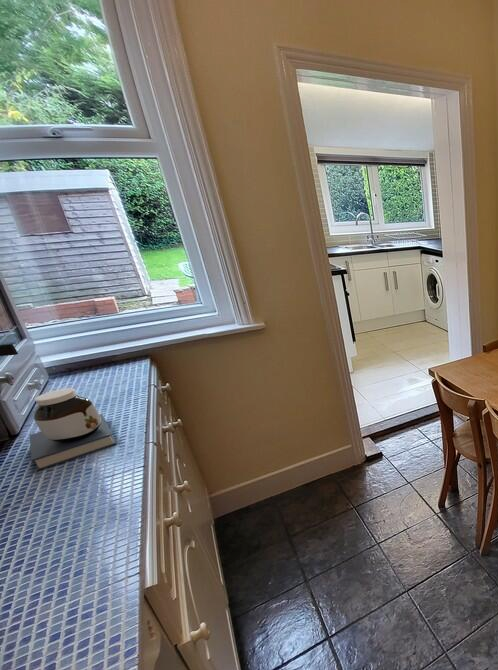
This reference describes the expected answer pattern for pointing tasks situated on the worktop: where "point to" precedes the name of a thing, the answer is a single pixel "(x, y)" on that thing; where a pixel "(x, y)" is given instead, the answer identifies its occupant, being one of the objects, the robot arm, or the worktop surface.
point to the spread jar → (66, 416)
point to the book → (68, 447)
